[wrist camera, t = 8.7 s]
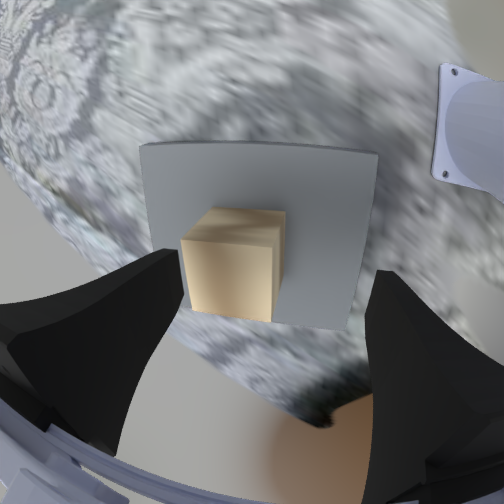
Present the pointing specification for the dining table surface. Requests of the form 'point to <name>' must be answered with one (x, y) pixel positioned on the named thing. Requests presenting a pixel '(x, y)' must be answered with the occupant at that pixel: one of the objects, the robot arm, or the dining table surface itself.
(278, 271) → the maple block
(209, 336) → the dining table surface
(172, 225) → the slate board
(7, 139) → the dining table surface
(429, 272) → the dining table surface
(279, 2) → the dining table surface
